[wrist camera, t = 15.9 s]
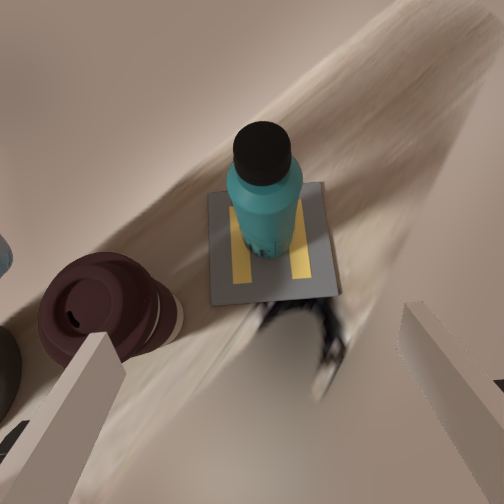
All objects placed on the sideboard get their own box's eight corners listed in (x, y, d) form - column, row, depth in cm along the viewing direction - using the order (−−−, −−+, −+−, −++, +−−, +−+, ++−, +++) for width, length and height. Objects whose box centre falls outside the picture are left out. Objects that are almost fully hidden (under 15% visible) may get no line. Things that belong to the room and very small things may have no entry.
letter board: (211, 306, 36) (210, 305, 36) (208, 195, 41) (207, 192, 40) (337, 295, 35) (338, 295, 35) (319, 183, 40) (320, 181, 40)
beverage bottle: (294, 219, 38) (315, 101, 19) (290, 267, 36) (308, 189, 17) (247, 215, 39) (220, 97, 20) (240, 262, 37) (204, 181, 18)
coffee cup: (190, 274, 38) (139, 235, 23) (199, 351, 35) (147, 361, 20) (118, 288, 38) (24, 258, 24) (121, 366, 35) (15, 385, 21)
